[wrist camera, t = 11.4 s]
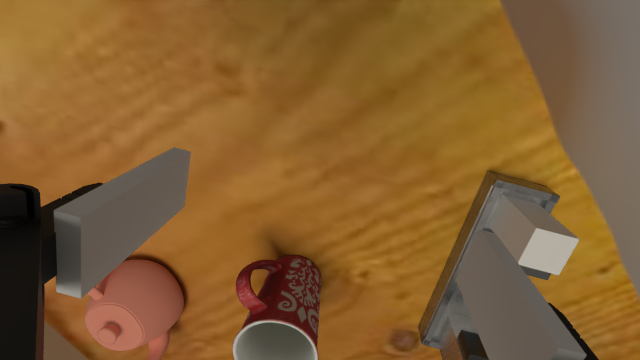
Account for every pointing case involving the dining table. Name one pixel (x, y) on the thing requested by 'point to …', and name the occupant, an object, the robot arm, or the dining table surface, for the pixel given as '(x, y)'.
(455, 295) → the rail
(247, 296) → the mug
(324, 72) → the dining table surface
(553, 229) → the small grey block
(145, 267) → the teapot
